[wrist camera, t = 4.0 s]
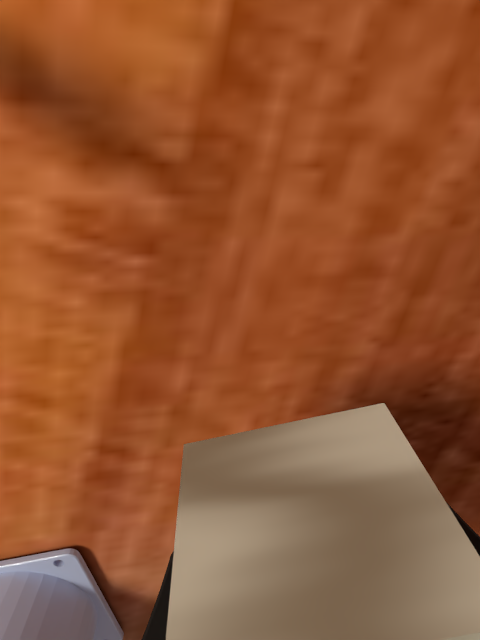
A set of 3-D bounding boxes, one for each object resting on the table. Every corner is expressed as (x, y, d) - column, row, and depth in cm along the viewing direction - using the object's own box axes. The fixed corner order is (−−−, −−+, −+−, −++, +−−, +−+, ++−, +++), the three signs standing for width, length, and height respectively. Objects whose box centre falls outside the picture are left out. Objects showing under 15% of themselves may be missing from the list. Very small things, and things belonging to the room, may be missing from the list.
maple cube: (228, 572, 12) (236, 827, 8) (184, 444, 10) (160, 692, 6) (394, 539, 12) (501, 781, 8) (384, 402, 10) (521, 624, 6)
